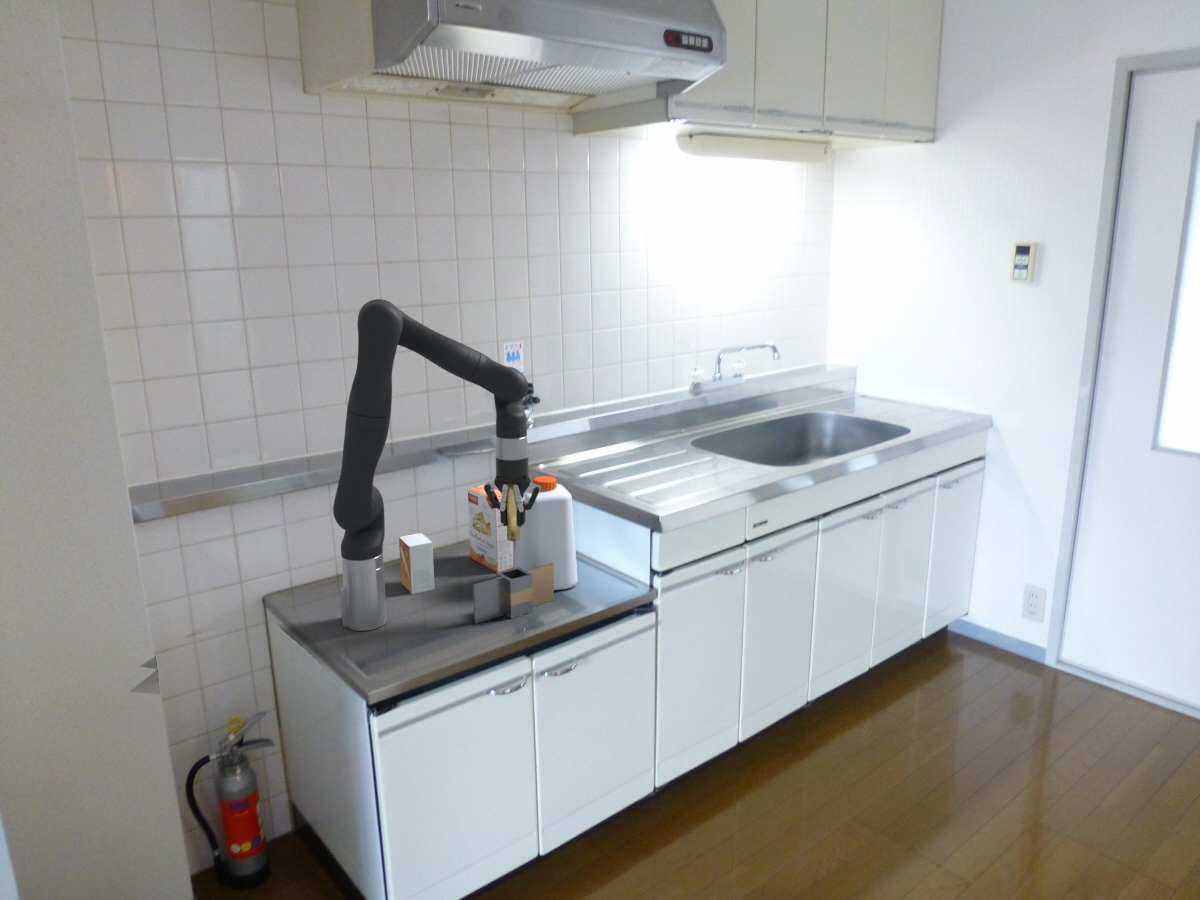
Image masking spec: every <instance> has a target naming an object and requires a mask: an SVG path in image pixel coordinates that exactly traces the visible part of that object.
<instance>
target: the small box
mask: <svg viewBox="0 0 1200 900" xmlns="http://www.w3.org/2000/svg"><path fill="white" fill-rule="evenodd" d="M398 544H399V545H398V546H399V548H398V549H399V560H400V561H399V567H400V582H401V583H400V584H401V585H403V586H404V588H406V590H407V591H408V592H409V593H410V594H411V595H415V594H419V593H420V594H421V593H424V592H425V593H426V592H428V591H433V590H435V571H434V570H435V569H434V567H435V566H434V549H433V548H434V547H433V541H432V540H430V539H429V537H427V536H426V535H424V534H423V533H422V532H420V533H413V534H408V535H403V536H399V537H398Z"/></svg>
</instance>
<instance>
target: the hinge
mask: <svg viewBox="0 0 1200 900" xmlns="http://www.w3.org/2000/svg"><path fill="white" fill-rule="evenodd" d="M554 592H555V590H554V569H553V563H550V564H546V565H542V566H539V567H535V568H532V569H528V570H523V569H521V568H519V567H517V568H515V567H514V568H512V569H509V570H506V571H502V572H498V573H496V577H495V578H493V579H492V578H491V579H489V580H484V581H481V582H477V583H474V584H472V594H473V595H472V596H473V598H472V599H473V620H474V621H473V623H474V624H476V625H477V624H481V623H483V622H487V621H490V620H493V619H495V618H500V617H504V616H506V617H508V618H509V619H511V618H512V619H514V617H516V618H518V617H517V616H519V617H521V616H520V615H522V616H524V615H523V614H525V615H528V614H531V613H530V612H532V613H534V607H536V606H538V605H542V604H546V603H549V602H552V601H554V599H555V598H554V595H555V594H554ZM527 613H528V614H527Z"/></svg>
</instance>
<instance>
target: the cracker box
mask: <svg viewBox="0 0 1200 900" xmlns="http://www.w3.org/2000/svg"><path fill="white" fill-rule="evenodd" d="M485 485H486V484H481V485H477V486H471V487H468V488H467V504H468V505H467V506H468V529H469V553H470V554H469V556H470V557H469V558H470V559H472V560H474V561H475V562H477V563H478V564H480V565H482V566H484V567H485V568H488V569H489V570H491V571H492V572H495V574H497V573H498V572H502V571H506V570H509V569H513V568H515V552H514V549H515V548H514V546H515V545H514V541H508V540H507V526H503V524H502V523H501V515H500V510H499V509H497V508H493V507H492V505H491V502H490V500H489V498H488V496H487V494H486V492H485V490H484V486H485ZM494 491H495V493H496V496H497V498H498V500H499V502H501V495H502V494H501V492H500V491H499V490H498V489H496V488H495V490H494Z"/></svg>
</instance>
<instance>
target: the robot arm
mask: <svg viewBox="0 0 1200 900" xmlns="http://www.w3.org/2000/svg"><path fill="white" fill-rule="evenodd" d="M357 333H358V334H357V338H358V339H357V340H358V341H357V343H358V344H357V345H358V346H357V364H356V370H355V374H354V378H353V381H352V385H351V389H350V392H349V395H348V402H347V407H346V415H345V426H344V439H343V445H342V447H343V448H342V461H341V469H340V474H339V475H340V476H339V480H338V483H337V488H336V493H335V496H334V501H333V506H332V513H333V517H334V519H335V522H336V523H337V525H338V527H340V528H341V529H343V530H344V535H343V539H342V541H341V543H340V553H341V554H340V556H341V568H342V583H343V585H341V587H340V591H339V593H340V602H341V603H340V604H341V605H340V606H341V619H342V627H344V628H348V629H350V630H353V631H358V632H359V631H360V632H362V631H372V630H377V629H379V628H381V627H383V626H385V624H386V623H387V622H388V617H387V615H388V613H387V601H386V600H387V599H386V583H385V568H384V567H385V564H384V552H383V551H384V548H383V545H384V540H385V533H386V532H385V531H386V530H385V529H386V528H385V525H386V524H385V505H384V504H385V503H384V498H383V495H382V494H381V492H380V490H379V489H378V488H377V487H376V486H375V485H374V478H375V477H374V476H375V472H376V469H377V466H378V463H379V460H380V459H381V456H382V453H383V450H384V447H385V445H386V442H387V438H388V434H389V429H390V422H391V413H392V405H393V404H392V403H393V402H392V399H393V368H394V361H395V358H396V354H397V350H398V346H400V347H403V348H406V349H407V350H410V351H412V352H414V353H416V354H417V355H419V356H422V357H423V358H425V359H426V360H428V361H430V362H431V363H432V364H434V365H436V366H437V367H439V368H441V369H442V370H444V371H446V372H447V373H450V374H452V375H454V376H456V377H458V378H460V379H462V380H463V381H467V382H469V383H471V384H473V385H476V386H479V387H481V388H483V389H484V390H486V391H488V392H489V393H490V394H493V399H494V400H493V401H494V407H495V415H496V416H495V446H494V447H495V452H494V453H495V478H494V481H490V482H489V481H488V482H486V484H484V485H485V486H484V490H485V492H486V494H487V496H488V498H489V500H490V502H491V505H492V507H493V508H497V509H499V510H500V515H501V523H502V524H503V526H507V515H506V501H507V493H508V484H507V483H511V484H515V485H514V492H515V496H516V501H517V503H518V508H519V511H518V527H522V525H524V523H525V511H526V510H530V509H531V508H532V506H533V505H534V502H535V500H536V498H537V496H538V494H539V491H540V489H541V485H535V484H533V482H532V481H531V479H530V477H529V453H530V452H529V442H528V433H527V431H528V426H527V425H528V423H527V415H526V412H525V410H524V409H525V408H524V398H525V397H526V396H527V393H528V392H529V381H528V380H527V377H526V376H525V375H524V373H522V372H521V371H520V370H519V369H517V368H515V367H512V366H506V365H505V364H504V365H503V364H501V363H499V362H497V361H495V360H493V359H492V358H491V357H489V356H487V355H486V354H484V353H482V352H480V351H478V350H477V349H474V348H472V347H469V346H468V345H466V344H464V343H461V342H459V341H457V340H455V339H453V338H451V337H448V336H446V335H444V334H442V333H440V332H437V331H435V330H434V329H432V328H430V327H428V326H426V325H425V324H423V323H420V322H419V321H417V320H416V319H414V318H412V317H411V316H409V315H408V314H406V313H405V312H404V311H403V310H401V309H400V308H398V307H397V306H396V305H395V304H393V303H392V302H391V301H389V300H386V299H381V298H380V299H379V298H377V299H372V300H369V301H367V302H366V303H364V304H363V306H362V307H361V308H360V309H359V311H358V315H357ZM528 487H530V492H531V493H532V495H531V497H530V500H529V502H528V503H526V504H525V496H524V492H525V491H526V490H527V488H528ZM496 488H497V490H498V491H500V492H501V494H502V495H501V502H499V500H498V498H497V496H496V493H495V491H494V490H495V489H496Z"/></svg>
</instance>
